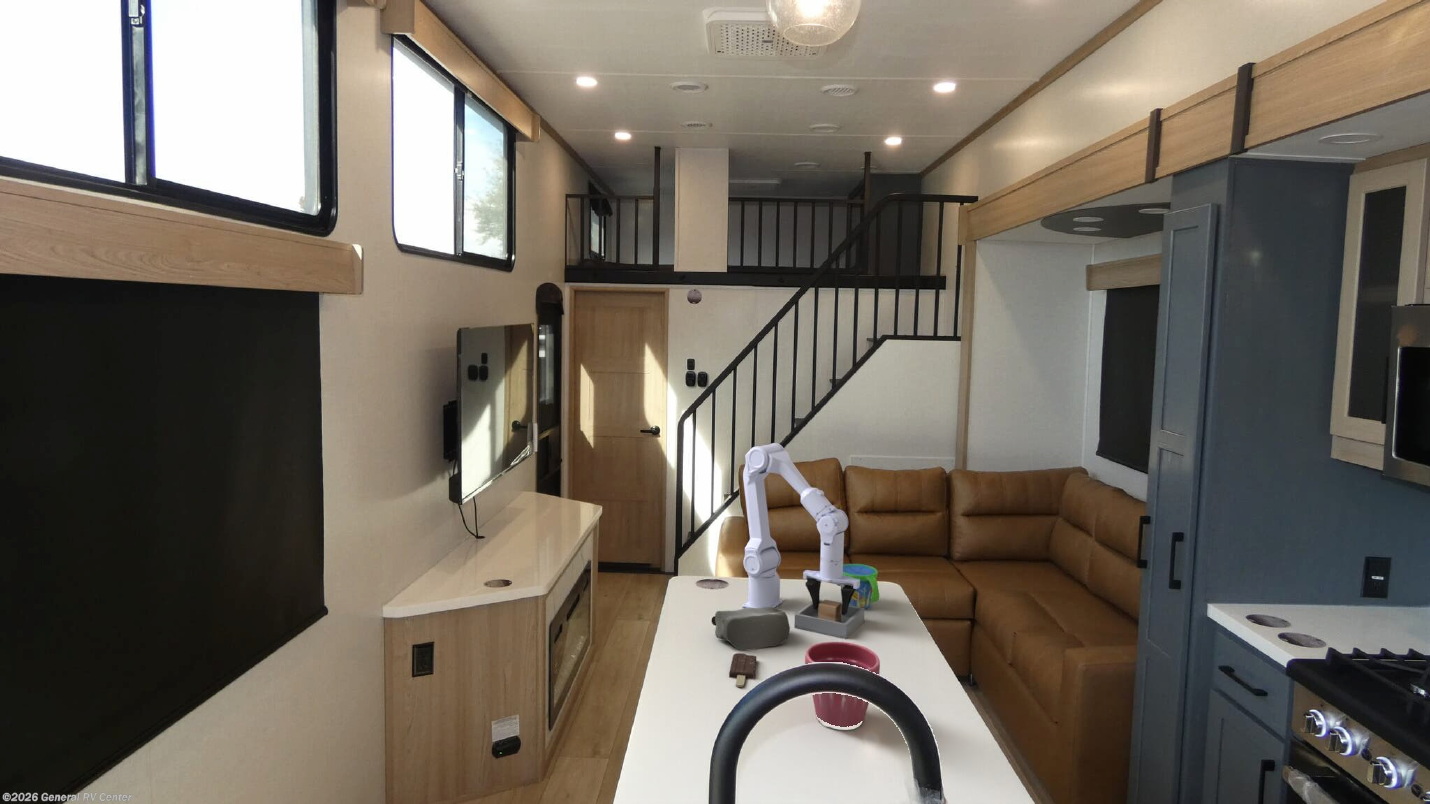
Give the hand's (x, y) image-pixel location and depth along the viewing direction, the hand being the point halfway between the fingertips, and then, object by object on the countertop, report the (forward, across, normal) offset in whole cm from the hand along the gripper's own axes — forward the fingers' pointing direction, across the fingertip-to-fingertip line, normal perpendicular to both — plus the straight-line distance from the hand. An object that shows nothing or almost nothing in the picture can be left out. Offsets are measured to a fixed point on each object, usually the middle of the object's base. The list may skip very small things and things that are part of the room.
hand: (830, 610), depth 201 cm
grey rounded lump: (+4, -13, -19) cm, 24 cm away
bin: (+4, 0, 0) cm, 4 cm away
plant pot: (+4, +20, -45) cm, 49 cm away
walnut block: (+3, 0, 0) cm, 3 cm away
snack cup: (+4, +1, +17) cm, 17 cm away
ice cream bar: (+4, -6, -37) cm, 37 cm away
